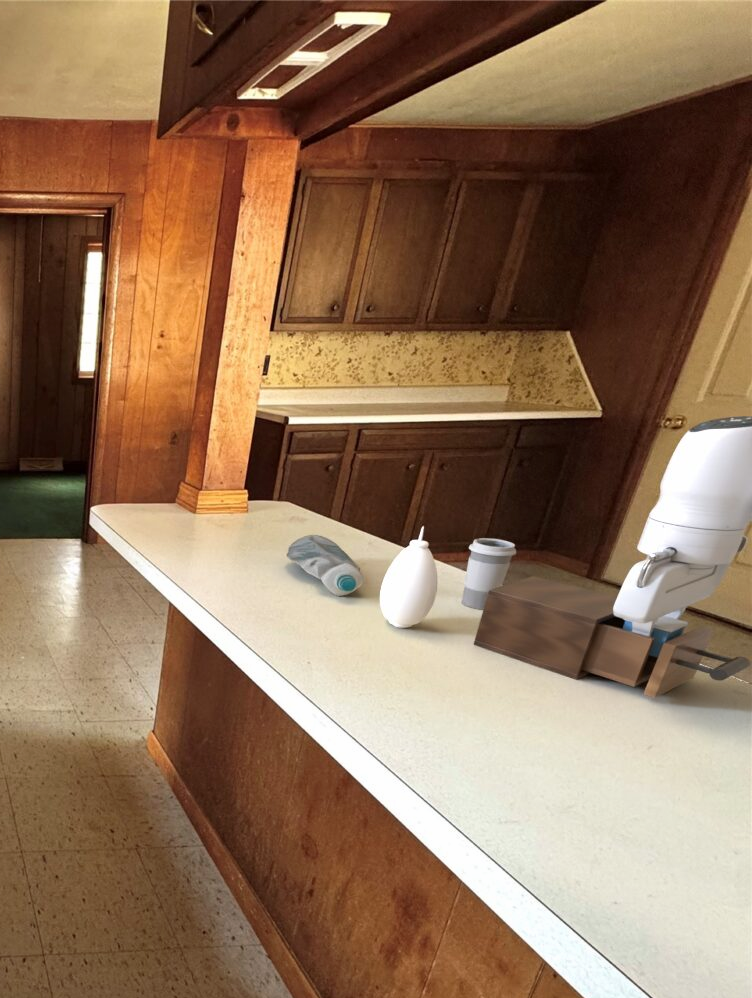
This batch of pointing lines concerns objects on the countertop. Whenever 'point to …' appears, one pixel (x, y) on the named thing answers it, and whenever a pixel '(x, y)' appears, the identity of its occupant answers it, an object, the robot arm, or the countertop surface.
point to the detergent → (326, 563)
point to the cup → (485, 569)
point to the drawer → (654, 658)
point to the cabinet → (543, 623)
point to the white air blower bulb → (409, 585)
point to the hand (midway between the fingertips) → (649, 637)
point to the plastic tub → (662, 632)
